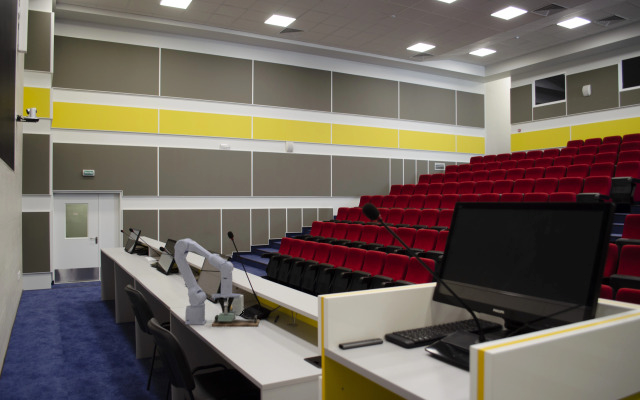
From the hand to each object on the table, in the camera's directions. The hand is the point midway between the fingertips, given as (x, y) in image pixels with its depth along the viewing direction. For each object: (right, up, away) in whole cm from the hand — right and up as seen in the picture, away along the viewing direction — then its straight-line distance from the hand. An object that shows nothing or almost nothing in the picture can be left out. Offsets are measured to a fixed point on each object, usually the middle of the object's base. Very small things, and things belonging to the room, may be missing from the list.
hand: (226, 312), depth 234 cm
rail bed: (+5, -6, 0) cm, 8 cm away
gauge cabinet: (0, -6, +9) cm, 11 cm away
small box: (+1, -6, +20) cm, 21 cm away
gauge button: (0, -1, +9) cm, 9 cm away
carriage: (0, -4, 0) cm, 4 cm away
